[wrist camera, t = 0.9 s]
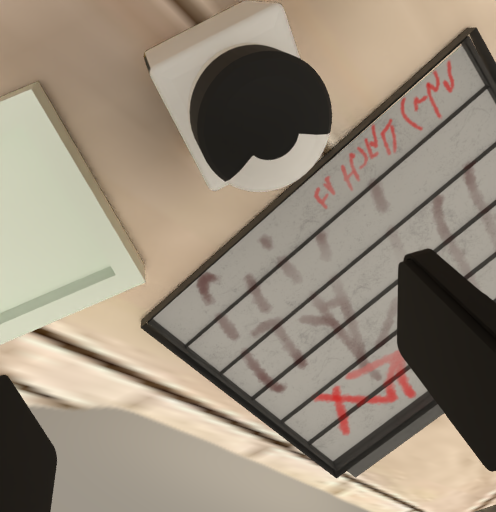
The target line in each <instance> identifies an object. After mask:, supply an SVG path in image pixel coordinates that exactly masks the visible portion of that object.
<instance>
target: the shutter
mask: <svg viewBox="0 0 496 512" xmlns="http://www.w3.org/2000/svg"><path fill="white" fill-rule="evenodd" d="M469 34H470V36H471V38H472V40H473V42H474V45H475V46H474V45H473V43H472V41H471V39H470V37H469V36H467V35H469ZM460 44H462V46H461V47H459V48H458V49H457V50H456V51H455V52H454V53H453V54H451V55H450V56H449V57H448V58H447V59H446V60H445V61H443V62H442V63H441V64H440V65H439V66H438V67H437V68H436V69H434V70H433V71H432V72H431V73H430V74H429V75H428V76H426V77H425V78H424V79H423V80H422V81H421V82H420V83H418V84H417V85H416V86H415V87H414V88H413V89H412V90H410V91H409V92H408V93H407V94H406V95H405V96H404V97H402V96H403V95H404V94H405V93H406V92H407V91H408V90H409V89H411V88H412V87H413V86H414V85H415V84H416V83H417V82H418V81H419V80H421V79H422V78H423V77H424V76H425V75H426V74H427V73H428V72H430V71H431V70H432V69H433V68H434V67H435V66H436V65H437V64H439V63H440V62H441V61H442V60H443V59H444V58H445V57H446V56H447V55H449V54H450V53H451V52H452V51H453V50H454V49H455V48H456V47H458V46H459V45H460ZM475 47H476V48H475ZM476 49H477V50H476ZM477 51H478V52H477ZM400 97H402V98H401V99H400V100H399V101H398V102H397V103H396V104H394V103H395V102H396V101H397V100H398V99H399V98H400ZM393 104H394V105H393ZM391 105H393V106H392V107H391V108H390V109H389V110H388V111H387V112H385V111H386V110H387V109H388V108H389V107H390V106H391ZM384 112H385V113H384ZM383 113H384V114H383ZM381 114H383V115H382V116H381V117H380V118H379V119H377V118H378V117H379V116H380V115H381ZM376 119H377V120H376ZM375 120H376V121H375ZM374 121H375V122H374ZM372 122H374V123H373V124H372V125H371V126H369V125H370V124H371V123H372ZM368 126H369V127H368ZM367 127H368V128H367ZM366 128H367V129H366ZM365 129H366V130H365ZM363 130H365V131H364V132H363V133H361V132H362V131H363ZM360 133H361V134H360ZM359 134H360V135H359ZM358 135H359V136H358ZM357 136H358V137H357ZM356 137H357V138H356ZM355 138H356V139H355ZM353 139H355V140H353ZM352 140H353V141H352ZM351 141H352V142H351ZM350 142H351V143H350ZM349 143H350V144H349ZM348 144H349V145H348ZM347 145H348V146H347ZM346 146H347V147H346ZM344 147H345V148H344ZM343 148H344V149H343ZM342 149H343V150H342ZM341 150H342V151H341ZM340 151H341V152H340ZM339 152H340V153H339ZM338 153H339V154H338ZM337 154H338V155H337ZM335 155H336V156H335ZM334 156H335V157H334ZM333 157H334V158H333ZM332 158H333V159H332ZM331 159H332V160H331ZM330 160H331V161H330ZM329 161H330V162H329ZM325 164H326V165H325ZM324 165H325V166H324ZM323 166H324V167H323ZM322 167H323V168H322ZM321 168H322V169H321ZM316 172H317V173H316ZM315 173H316V174H315ZM314 174H315V175H314ZM313 175H314V176H313ZM306 181H307V182H306ZM305 182H306V183H305ZM297 189H298V190H297ZM288 197H289V198H288ZM427 248H429V249H432V250H433V251H434V252H436V253H437V254H438V255H439V256H440V257H441V258H443V259H444V260H445V261H446V262H447V263H448V264H450V265H451V266H452V267H453V268H454V269H455V270H457V271H458V272H459V273H460V274H461V275H462V276H464V277H465V278H466V279H467V280H468V281H469V282H471V283H472V284H473V285H474V286H475V287H476V288H478V289H479V290H480V291H481V292H483V293H484V294H486V295H487V296H488V297H489V298H491V299H492V300H493V301H494V302H495V303H496V63H495V61H494V59H493V57H492V55H491V53H490V52H489V50H488V48H487V46H486V44H485V42H484V41H483V39H482V37H481V35H480V33H479V31H478V30H477V28H467V29H466V30H464V31H463V32H462V33H461V34H460V35H459V36H458V37H457V38H455V39H454V40H453V41H452V42H451V43H450V44H449V45H448V46H447V47H445V48H444V49H443V50H442V51H441V52H440V53H439V54H438V55H437V56H435V57H434V58H433V59H432V60H431V61H430V62H429V63H428V64H426V65H425V66H424V67H423V68H422V69H421V70H420V71H419V72H418V73H416V74H415V75H414V76H413V77H412V78H411V79H410V80H409V81H408V82H406V83H405V84H404V85H403V86H402V87H401V88H400V89H399V90H397V91H396V92H395V93H394V94H393V95H392V96H391V97H390V98H389V99H387V100H386V101H385V102H384V103H383V104H382V105H381V106H380V107H379V108H377V109H376V110H375V111H374V112H373V113H372V114H371V115H370V116H368V117H367V118H366V119H365V120H364V121H363V122H362V123H361V124H360V125H358V126H357V127H356V128H355V129H354V130H353V131H352V132H351V133H350V134H348V135H347V136H346V137H345V138H344V139H343V140H342V141H341V142H340V143H338V144H337V145H336V146H335V147H334V148H333V149H332V150H331V151H329V152H328V153H327V154H326V155H325V156H324V157H323V158H322V159H321V160H319V161H318V162H317V163H316V164H315V165H314V166H313V167H312V168H311V169H310V170H309V171H308V172H307V173H306V174H305V175H303V176H302V177H301V178H300V179H298V180H297V181H296V182H295V183H294V184H293V185H292V186H290V187H289V188H288V189H287V190H286V191H285V192H284V193H283V194H282V195H280V196H279V197H278V198H277V199H276V200H275V201H274V202H273V203H271V204H270V205H269V206H268V207H267V208H266V209H265V210H264V211H263V212H261V213H260V214H259V215H258V216H257V217H256V218H255V219H254V220H253V221H251V222H250V223H249V224H248V225H247V226H246V227H245V228H244V229H242V230H241V231H240V232H239V233H238V234H237V235H236V236H235V237H234V238H232V239H231V240H230V241H229V242H228V243H227V244H226V245H225V246H224V247H222V248H221V249H220V250H219V251H218V252H217V253H216V254H215V255H213V256H212V257H211V258H210V259H209V260H208V261H207V262H206V263H205V264H203V265H202V266H201V267H200V268H199V269H198V270H197V271H196V272H195V273H193V274H192V275H191V276H190V277H189V278H188V279H187V280H186V281H184V282H183V283H182V284H181V285H180V286H179V287H178V288H177V289H176V290H174V291H173V292H172V293H171V294H170V295H169V296H168V297H167V298H166V299H164V300H163V301H162V302H161V303H160V304H159V305H158V306H157V307H156V308H154V309H153V310H152V311H151V312H150V313H149V314H148V315H147V316H145V317H144V318H143V319H142V320H141V328H142V329H143V330H144V331H146V332H147V333H148V334H150V335H151V336H152V337H154V338H155V339H156V340H157V341H159V342H160V343H161V344H163V345H164V346H165V347H167V348H168V349H169V350H170V351H172V352H173V353H174V354H176V355H177V356H178V357H179V358H181V359H182V360H183V361H185V362H186V363H187V364H189V365H190V366H191V367H192V368H194V369H195V370H196V371H198V372H199V373H200V374H202V375H203V376H204V377H205V378H207V379H208V380H209V381H211V382H212V383H213V384H215V385H216V386H217V387H218V388H220V389H221V390H222V391H224V392H225V393H226V394H228V395H229V396H230V397H231V398H233V399H234V400H235V401H237V402H238V403H239V404H241V405H242V406H243V407H244V408H246V409H247V410H248V411H250V412H251V413H252V414H253V415H255V416H256V417H257V418H259V419H260V420H261V421H263V422H264V423H265V424H266V425H268V426H269V427H270V428H272V429H273V430H274V431H276V432H277V433H278V434H279V435H281V436H282V437H283V438H285V439H286V440H287V441H289V442H290V443H291V444H292V445H294V446H295V447H296V448H298V449H299V450H300V451H302V452H303V453H304V454H305V455H307V456H308V457H309V458H311V459H312V460H313V461H315V462H316V463H317V464H318V465H320V466H321V467H322V468H324V469H325V470H326V471H328V472H329V473H330V474H331V475H333V476H334V477H335V478H338V477H339V476H340V475H342V474H343V473H345V472H346V471H348V472H349V473H350V474H352V475H353V476H354V477H355V478H356V477H357V476H358V475H360V474H361V473H363V472H364V471H365V470H367V469H368V468H369V467H371V466H372V465H374V464H375V463H376V462H378V461H379V460H380V459H382V458H383V457H385V456H386V455H387V454H389V453H390V452H391V451H393V450H394V449H396V448H397V447H398V446H400V445H401V444H402V443H404V442H405V441H407V440H408V439H409V438H411V437H412V436H413V435H415V434H416V433H418V432H419V431H420V430H422V429H423V428H424V427H426V426H427V425H429V424H430V423H431V422H433V421H434V420H435V419H437V418H438V417H440V416H441V415H442V414H444V412H443V410H442V409H441V408H440V406H439V405H438V404H437V402H436V401H435V400H434V398H433V397H432V396H431V394H430V393H429V392H428V390H427V389H426V388H425V386H424V385H423V384H422V382H421V381H420V380H419V378H418V377H417V376H416V374H415V373H414V372H413V370H412V369H411V368H410V366H409V365H408V364H407V362H406V361H405V360H404V358H403V357H402V356H401V354H400V352H399V349H398V346H397V302H398V265H399V263H400V262H403V260H404V257H405V255H406V254H409V253H413V252H416V251H420V250H423V249H427ZM147 321H148V322H147ZM146 322H147V323H146ZM148 324H149V325H148Z"/></svg>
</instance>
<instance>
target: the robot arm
mask: <svg viewBox="0 0 496 512" xmlns="http://www.w3.org/2000/svg"><path fill="white" fill-rule="evenodd" d="M397 346H398V349H399V352H400V354H401V356H402V357H403V358H404V360H405V361H406V362H407V364H408V365H409V366H410V368H411V369H412V370H413V372H414V373H415V374H416V376H417V377H418V378H419V380H420V381H421V382H422V384H423V385H424V386H425V388H426V389H427V390H428V392H429V393H430V394H431V396H432V397H433V398H434V400H435V401H436V402H437V404H438V405H439V406H440V408H441V409H442V410H443V412H444V413H445V414H446V416H447V417H448V418H449V420H450V421H451V422H452V424H453V425H454V426H455V428H456V429H457V430H458V432H459V433H460V434H461V436H462V437H463V438H464V440H465V441H466V442H467V444H468V445H469V446H470V448H471V449H472V450H473V452H474V453H475V454H476V456H477V457H478V458H479V460H480V461H481V462H482V464H483V465H484V466H485V467H486V468H487V469H488V470H489V471H492V472H493V471H496V303H495V302H494V301H493V300H492V299H491V298H489V297H488V296H487V295H486V294H484V293H483V292H481V291H480V290H479V289H478V288H476V287H475V286H474V285H473V284H472V283H471V282H469V281H468V280H467V279H466V278H465V277H464V276H462V275H461V274H460V273H459V272H458V271H457V270H455V269H454V268H453V267H452V266H451V265H450V264H448V263H447V262H446V261H445V260H444V259H443V258H441V257H440V256H439V255H438V254H437V253H436V252H434V251H433V250H432V249H429V248H427V249H423V250H420V251H416V252H413V253H409V254H406V255H405V257H404V260H403V262H400V263H399V265H398V302H397ZM56 465H57V456H56V451H55V448H54V446H53V445H52V443H51V441H50V440H49V438H48V437H47V435H46V434H45V432H44V431H43V429H42V428H41V426H40V425H39V423H38V421H37V420H36V419H35V417H34V415H33V414H32V413H31V411H30V409H29V408H28V406H27V405H26V403H25V402H24V400H23V398H22V397H21V395H20V394H19V392H18V391H17V389H16V388H15V386H14V385H13V383H12V382H11V380H10V379H9V377H8V376H6V375H1V376H0V512H50V510H51V502H52V494H53V487H54V480H55V473H56ZM475 512H496V505H493V506H490V507H487V508H484V509H481V510H478V511H475Z"/></svg>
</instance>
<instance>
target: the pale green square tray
mask: <svg viewBox="0 0 496 512" xmlns="http://www.w3.org/2000/svg"><path fill="white" fill-rule="evenodd" d="M143 283H146V280H145V268H144V263H143V262H142V260H141V258H140V256H139V255H138V253H137V251H136V249H135V248H134V246H133V244H132V243H131V241H130V239H129V237H128V236H127V234H126V232H125V230H124V229H123V227H122V225H121V223H120V222H119V220H118V218H117V217H116V215H115V213H114V211H113V210H112V208H111V206H110V204H109V203H108V201H107V199H106V198H105V196H104V194H103V192H102V191H101V189H100V187H99V185H98V184H97V182H96V180H95V178H94V177H93V175H92V173H91V172H90V170H89V168H88V166H87V165H86V163H85V161H84V159H83V158H82V156H81V154H80V153H79V151H78V149H77V147H76V146H75V144H74V142H73V140H72V139H71V137H70V135H69V133H68V132H67V130H66V128H65V127H64V125H63V123H62V121H61V120H60V118H59V116H58V114H57V113H56V111H55V109H54V108H53V106H52V104H51V102H50V101H49V99H48V97H47V95H46V94H45V92H44V90H43V89H42V87H41V85H40V83H39V82H38V81H37V82H35V83H33V84H30V85H28V86H25V87H23V88H21V89H18V90H16V91H13V92H11V93H9V94H6V95H4V96H1V97H0V345H1V344H4V343H6V342H8V341H11V340H13V339H15V338H18V337H20V336H22V335H25V334H27V333H29V332H31V331H34V330H36V329H38V328H41V327H43V326H45V325H48V324H50V323H52V322H55V321H57V320H59V319H62V318H64V317H66V316H69V315H71V314H73V313H76V312H78V311H80V310H83V309H85V308H87V307H90V306H92V305H94V304H97V303H99V302H101V301H104V300H106V299H108V298H111V297H113V296H115V295H118V294H120V293H122V292H125V291H127V290H129V289H132V288H134V287H136V286H139V285H141V284H143Z"/></svg>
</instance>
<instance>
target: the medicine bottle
mask: <svg viewBox="0 0 496 512" xmlns="http://www.w3.org/2000/svg"><path fill="white" fill-rule="evenodd" d="M144 59H145V62H146V65H147V68H148V71H149V74H150V77H151V79H152V81H153V83H154V85H155V86H156V88H157V90H158V92H159V94H160V96H161V98H162V100H163V102H164V104H165V106H166V108H167V109H168V111H169V113H170V115H171V117H172V119H173V121H174V123H175V125H176V127H177V129H178V130H179V132H180V134H181V136H182V138H183V140H184V142H185V144H186V146H187V148H188V150H189V152H190V153H191V155H192V157H193V159H194V161H195V163H196V165H197V167H198V169H199V171H200V173H201V174H202V176H203V178H204V180H205V182H206V184H207V186H208V188H209V189H210V190H212V191H217V190H219V189H221V188H223V187H225V186H227V185H229V184H230V185H231V186H234V187H236V188H239V189H242V190H246V191H251V192H267V191H273V190H277V189H280V188H283V187H286V186H288V185H290V184H292V183H294V182H295V181H297V180H298V179H300V178H301V177H302V176H303V175H305V174H306V173H307V172H308V171H309V170H310V169H311V168H312V167H313V166H314V164H315V163H316V162H317V160H318V159H319V157H320V156H321V154H322V152H323V151H324V148H325V146H326V144H327V141H328V138H329V134H330V130H331V124H332V109H331V102H330V98H329V94H328V91H327V89H326V86H325V84H324V83H323V81H322V79H321V78H320V76H319V75H318V74H317V72H316V71H315V70H314V69H313V68H312V67H311V66H310V65H309V64H307V63H306V62H304V61H303V60H301V59H300V56H299V53H298V50H297V47H296V44H295V40H294V37H293V34H292V31H291V28H290V25H289V22H288V19H287V16H286V13H285V10H284V8H283V6H282V5H281V4H279V3H272V2H260V1H249V0H246V1H242V2H240V3H238V4H236V5H235V6H233V7H231V8H229V9H227V10H225V11H223V12H221V13H219V14H217V15H215V16H213V17H211V18H209V19H207V20H205V21H203V22H201V23H199V24H198V25H196V26H194V27H192V28H190V29H188V30H186V31H184V32H182V33H180V34H178V35H176V36H174V37H172V38H170V39H168V40H166V41H164V42H163V43H161V44H159V45H157V46H155V47H153V48H151V49H149V50H147V51H146V52H145V53H144Z"/></svg>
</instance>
